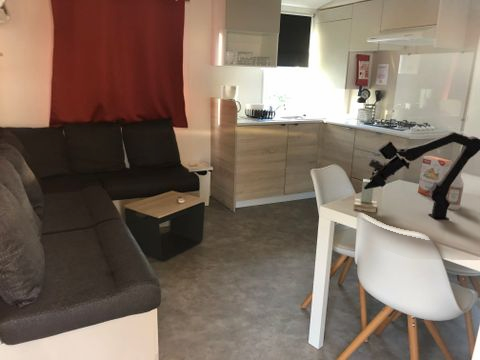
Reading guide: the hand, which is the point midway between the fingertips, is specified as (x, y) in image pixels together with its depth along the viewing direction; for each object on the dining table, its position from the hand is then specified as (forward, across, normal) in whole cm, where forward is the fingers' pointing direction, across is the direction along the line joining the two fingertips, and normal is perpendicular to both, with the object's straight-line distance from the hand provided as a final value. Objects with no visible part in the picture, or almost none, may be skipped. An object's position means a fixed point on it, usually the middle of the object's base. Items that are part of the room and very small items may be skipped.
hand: (364, 187), depth 191 cm
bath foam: (-22, -20, +37) cm, 47 cm away
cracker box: (-17, -40, +32) cm, 54 cm away
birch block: (+7, 0, +8) cm, 11 cm away
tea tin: (+4, 0, +6) cm, 7 cm away
